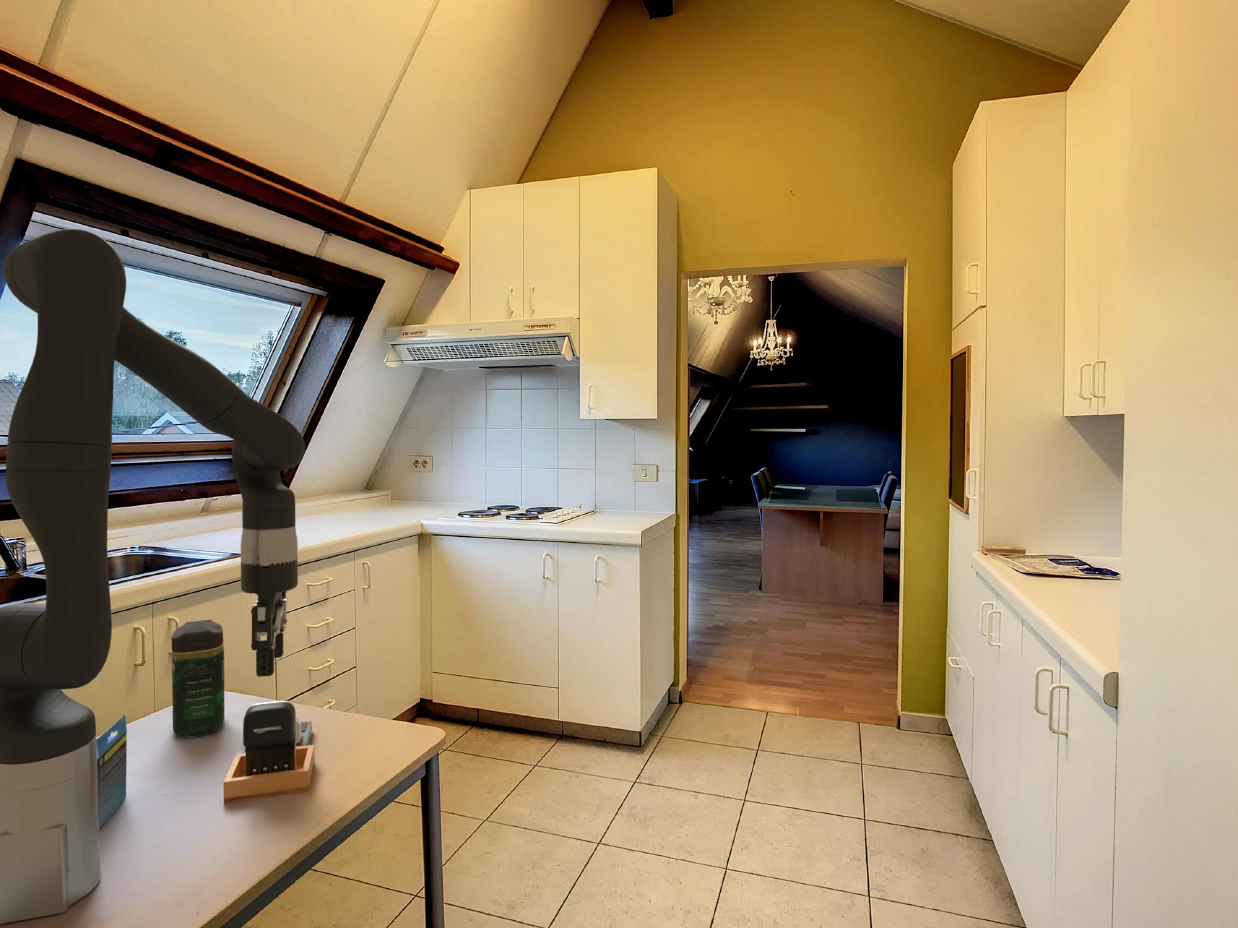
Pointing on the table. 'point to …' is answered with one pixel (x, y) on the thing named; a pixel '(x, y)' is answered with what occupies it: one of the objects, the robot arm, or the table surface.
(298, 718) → the block
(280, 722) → the battery charger
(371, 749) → the table surface
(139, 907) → the table surface
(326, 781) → the table surface
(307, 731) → the panel
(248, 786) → the tray
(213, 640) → the coffee jar
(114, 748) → the label tape box
